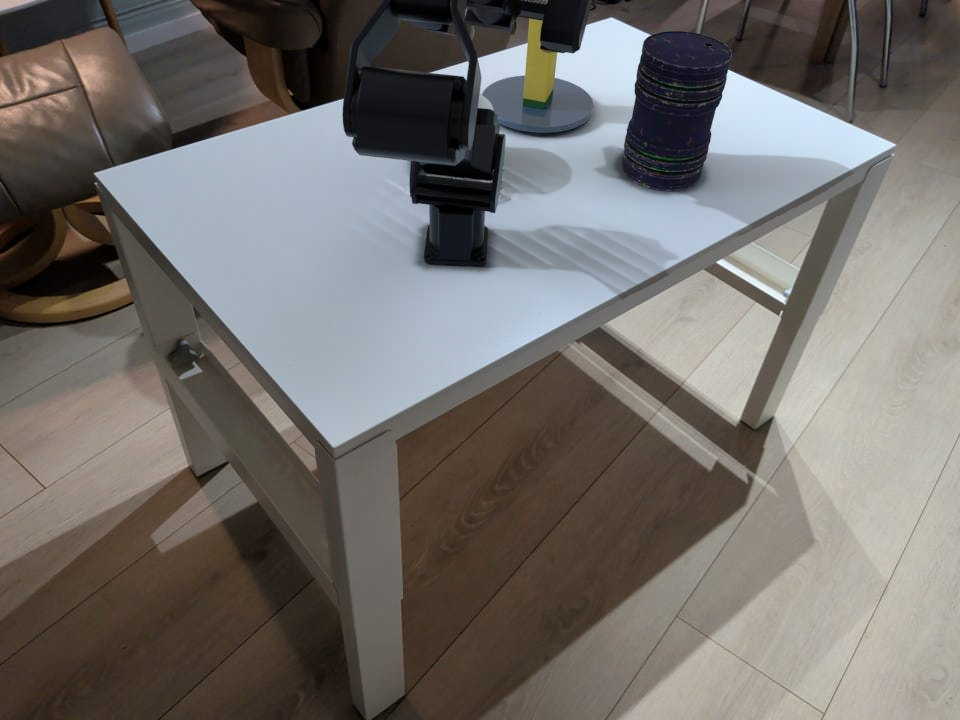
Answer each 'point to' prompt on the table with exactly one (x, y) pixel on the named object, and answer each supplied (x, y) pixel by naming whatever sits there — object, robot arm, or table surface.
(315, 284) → the table surface
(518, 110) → the plate
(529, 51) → the yellow green tall block
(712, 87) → the dark purple barrel
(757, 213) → the table surface
